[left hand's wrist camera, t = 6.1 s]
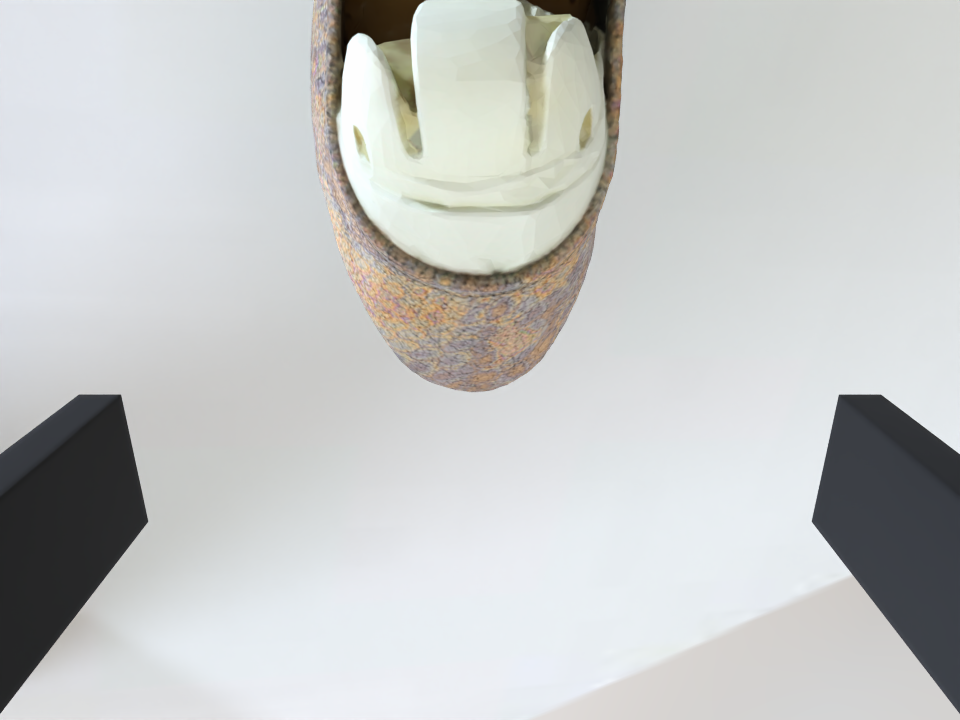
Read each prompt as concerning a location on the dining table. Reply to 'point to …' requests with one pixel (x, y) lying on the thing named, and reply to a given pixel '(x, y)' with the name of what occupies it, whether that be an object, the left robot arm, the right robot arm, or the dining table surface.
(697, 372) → the dining table surface
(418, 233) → the speckled felt slipper
